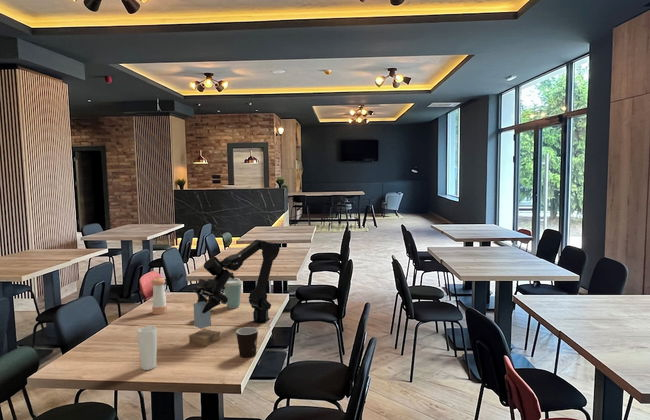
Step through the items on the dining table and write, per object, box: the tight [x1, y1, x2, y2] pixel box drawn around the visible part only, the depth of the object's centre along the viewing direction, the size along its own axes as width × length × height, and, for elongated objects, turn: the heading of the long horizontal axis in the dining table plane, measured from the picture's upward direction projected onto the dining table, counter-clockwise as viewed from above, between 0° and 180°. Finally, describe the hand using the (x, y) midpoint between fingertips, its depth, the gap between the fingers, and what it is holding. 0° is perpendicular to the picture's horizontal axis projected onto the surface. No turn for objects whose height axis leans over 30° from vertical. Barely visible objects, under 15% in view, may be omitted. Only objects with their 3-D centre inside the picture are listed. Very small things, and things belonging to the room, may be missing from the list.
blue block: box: [193, 301, 212, 330], centre depth 192 cm, size 5×5×10 cm
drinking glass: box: [137, 325, 158, 371], centre depth 166 cm, size 7×7×15 cm
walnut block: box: [188, 328, 221, 348], centre depth 192 cm, size 9×9×4 cm
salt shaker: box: [150, 276, 168, 315], centre depth 234 cm, size 7×7×19 cm
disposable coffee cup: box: [223, 277, 242, 309], centre depth 242 cm, size 11×11×15 cm
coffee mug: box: [235, 326, 259, 359], centre depth 178 cm, size 12×9×10 cm
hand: (199, 311), depth 191 cm, fingers closed on blue block, 5 cm apart
